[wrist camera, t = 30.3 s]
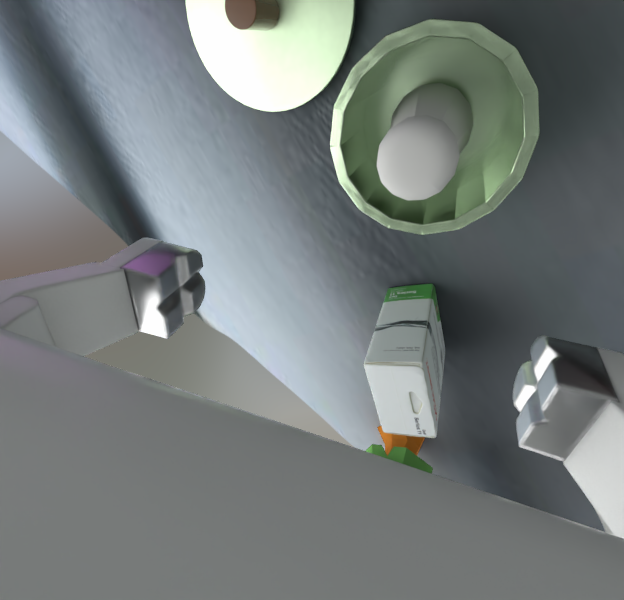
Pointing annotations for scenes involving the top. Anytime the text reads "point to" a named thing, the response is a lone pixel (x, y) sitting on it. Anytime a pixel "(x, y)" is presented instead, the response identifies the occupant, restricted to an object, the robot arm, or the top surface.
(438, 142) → the salt shaker
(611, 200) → the top surface
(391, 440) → the decorative tree
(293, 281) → the top surface
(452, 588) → the robot arm
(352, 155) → the bowl
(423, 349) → the ink box
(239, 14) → the lid
